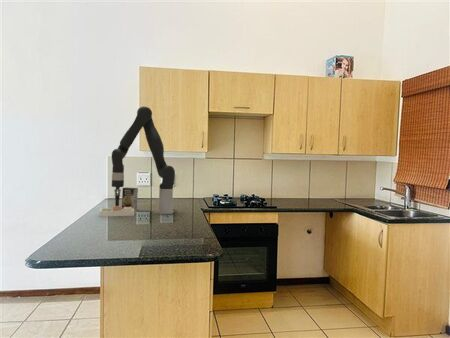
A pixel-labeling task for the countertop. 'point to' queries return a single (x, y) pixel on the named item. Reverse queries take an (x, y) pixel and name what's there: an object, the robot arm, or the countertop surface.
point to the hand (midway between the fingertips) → (117, 205)
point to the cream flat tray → (116, 213)
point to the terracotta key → (117, 208)
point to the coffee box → (129, 197)
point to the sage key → (106, 209)
